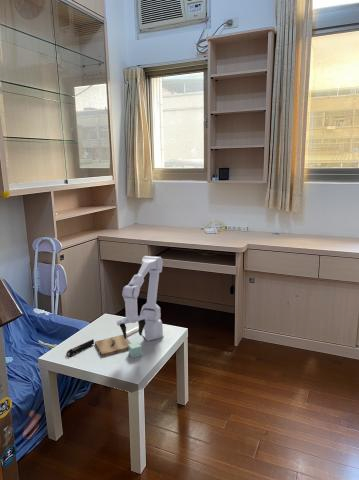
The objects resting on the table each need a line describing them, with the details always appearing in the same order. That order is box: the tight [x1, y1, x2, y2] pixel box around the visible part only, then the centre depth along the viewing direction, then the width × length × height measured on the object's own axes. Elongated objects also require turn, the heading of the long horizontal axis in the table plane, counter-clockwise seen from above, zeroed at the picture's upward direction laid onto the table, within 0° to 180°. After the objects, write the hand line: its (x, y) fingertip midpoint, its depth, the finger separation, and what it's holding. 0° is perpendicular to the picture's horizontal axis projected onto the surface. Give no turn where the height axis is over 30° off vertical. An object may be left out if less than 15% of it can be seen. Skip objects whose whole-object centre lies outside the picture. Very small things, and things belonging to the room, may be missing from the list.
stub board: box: [94, 334, 131, 358], centre depth 182 cm, size 16×14×4 cm
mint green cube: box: [128, 341, 143, 359], centre depth 173 cm, size 5×5×5 cm
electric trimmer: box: [65, 338, 95, 358], centre depth 180 cm, size 4×16×3 cm, turn 140°
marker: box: [126, 325, 139, 337], centre depth 199 cm, size 3×2×16 cm
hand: (132, 336), depth 172 cm, fingers open, 7 cm apart
